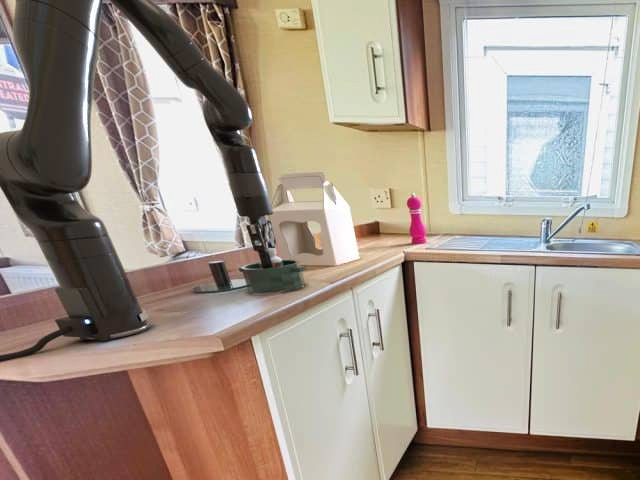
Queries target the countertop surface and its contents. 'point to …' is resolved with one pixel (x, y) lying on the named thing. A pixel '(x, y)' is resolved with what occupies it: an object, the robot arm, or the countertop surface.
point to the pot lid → (220, 280)
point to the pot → (274, 277)
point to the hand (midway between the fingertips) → (271, 265)
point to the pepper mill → (416, 221)
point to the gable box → (328, 213)
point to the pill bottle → (272, 259)
